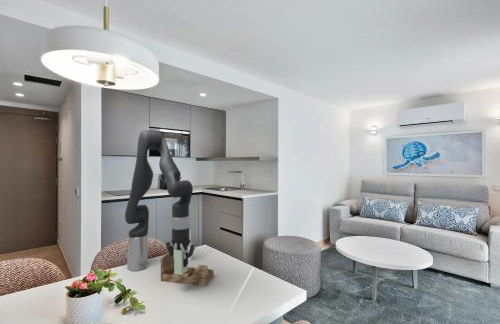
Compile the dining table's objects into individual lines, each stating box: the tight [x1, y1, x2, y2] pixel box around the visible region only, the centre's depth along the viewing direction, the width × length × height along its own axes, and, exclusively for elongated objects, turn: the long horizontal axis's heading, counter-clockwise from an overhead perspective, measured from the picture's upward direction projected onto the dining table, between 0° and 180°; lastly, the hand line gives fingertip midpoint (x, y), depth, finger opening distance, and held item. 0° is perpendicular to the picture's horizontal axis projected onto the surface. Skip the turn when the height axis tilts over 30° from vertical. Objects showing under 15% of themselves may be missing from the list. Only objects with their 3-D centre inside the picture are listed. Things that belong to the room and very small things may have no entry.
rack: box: [160, 252, 215, 287], centre depth 118 cm, size 22×11×12 cm, turn 76°
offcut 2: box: [194, 271, 209, 279], centre depth 116 cm, size 5×6×3 cm
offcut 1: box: [195, 264, 209, 276], centre depth 116 cm, size 4×5×3 cm
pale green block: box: [174, 249, 188, 275], centre depth 108 cm, size 4×5×10 cm
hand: (181, 265), depth 108 cm, fingers closed on pale green block, 3 cm apart
